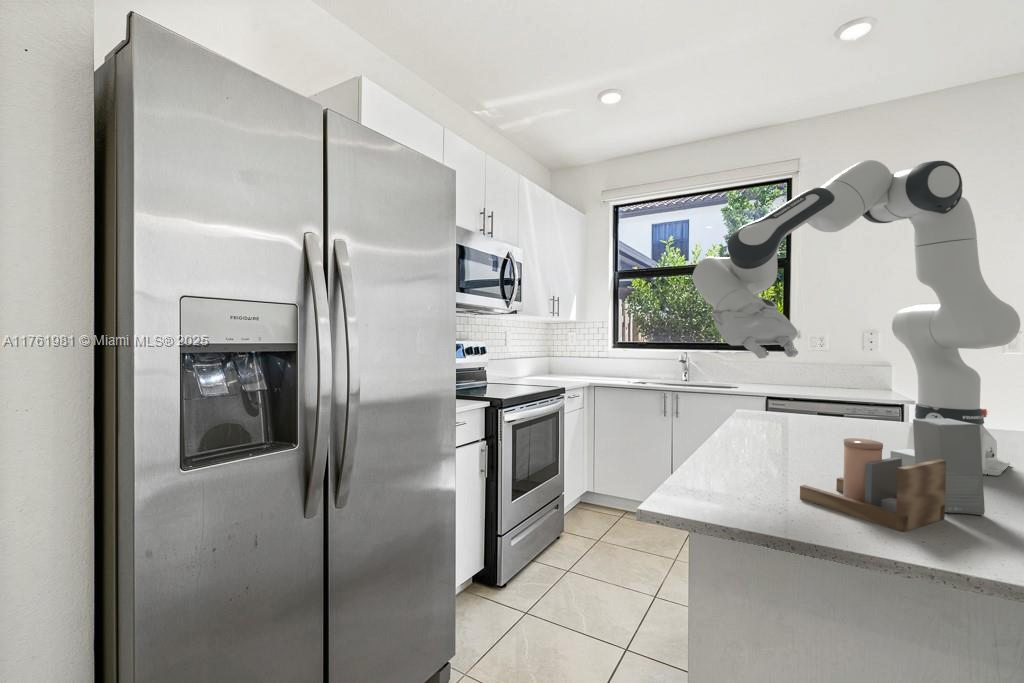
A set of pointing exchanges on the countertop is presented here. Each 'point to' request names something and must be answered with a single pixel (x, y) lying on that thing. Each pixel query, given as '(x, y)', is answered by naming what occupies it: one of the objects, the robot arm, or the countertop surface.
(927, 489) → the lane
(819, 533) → the countertop surface
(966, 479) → the skincare box
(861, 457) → the jar
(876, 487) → the pusher
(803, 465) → the countertop surface
